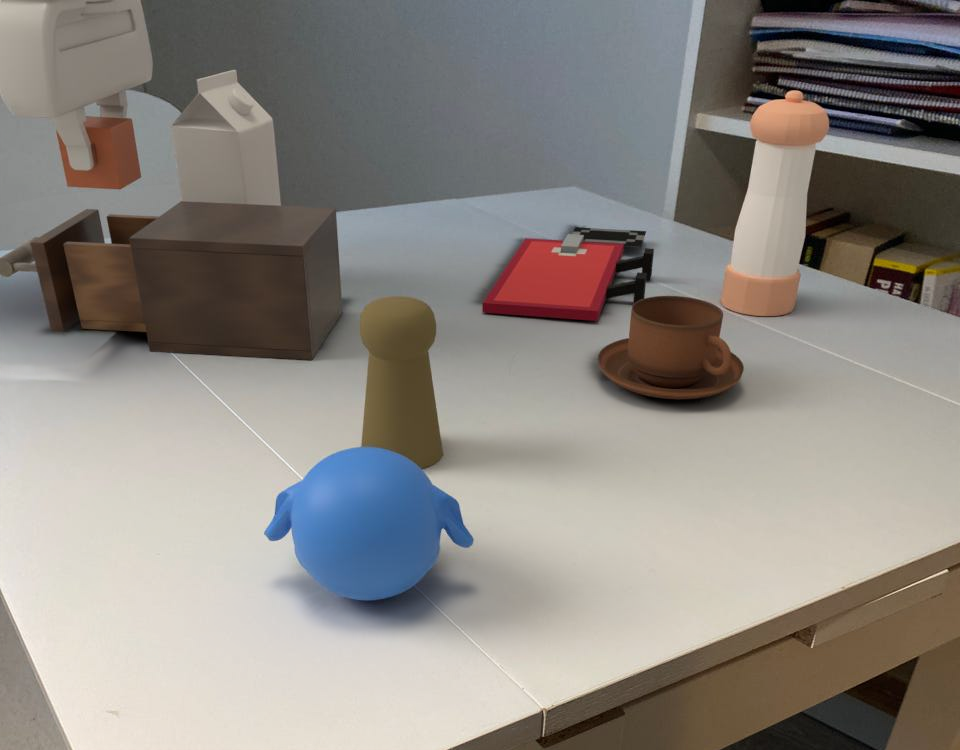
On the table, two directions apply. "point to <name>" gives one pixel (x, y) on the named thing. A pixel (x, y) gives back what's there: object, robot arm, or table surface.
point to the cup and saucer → (672, 350)
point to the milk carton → (226, 146)
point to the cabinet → (239, 279)
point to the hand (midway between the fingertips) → (100, 161)
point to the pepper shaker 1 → (400, 379)
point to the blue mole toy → (367, 523)
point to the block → (106, 155)
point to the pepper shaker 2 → (774, 208)
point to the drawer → (85, 272)
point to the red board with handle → (569, 275)
